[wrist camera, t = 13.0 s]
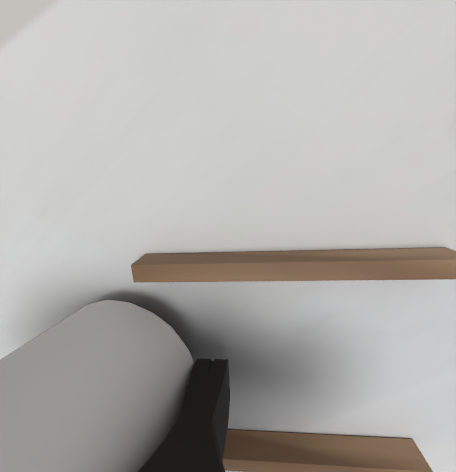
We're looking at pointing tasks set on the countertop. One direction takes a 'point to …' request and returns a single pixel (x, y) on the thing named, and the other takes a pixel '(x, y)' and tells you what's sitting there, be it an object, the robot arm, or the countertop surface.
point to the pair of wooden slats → (307, 269)
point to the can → (92, 392)
